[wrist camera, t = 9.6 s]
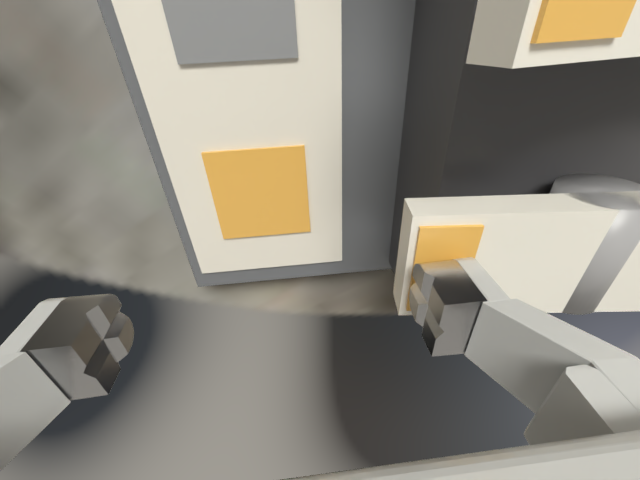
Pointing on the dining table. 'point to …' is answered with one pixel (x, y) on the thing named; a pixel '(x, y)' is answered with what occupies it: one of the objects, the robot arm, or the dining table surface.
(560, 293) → the switch
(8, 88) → the dining table surface
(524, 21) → the switch
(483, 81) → the switch unit
